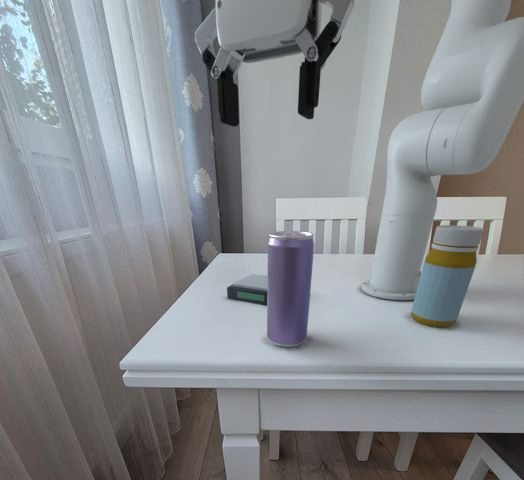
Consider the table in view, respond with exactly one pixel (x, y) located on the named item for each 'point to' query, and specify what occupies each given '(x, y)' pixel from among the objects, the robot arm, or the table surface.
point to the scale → (249, 289)
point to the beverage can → (289, 286)
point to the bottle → (446, 275)
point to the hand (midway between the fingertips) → (265, 121)
